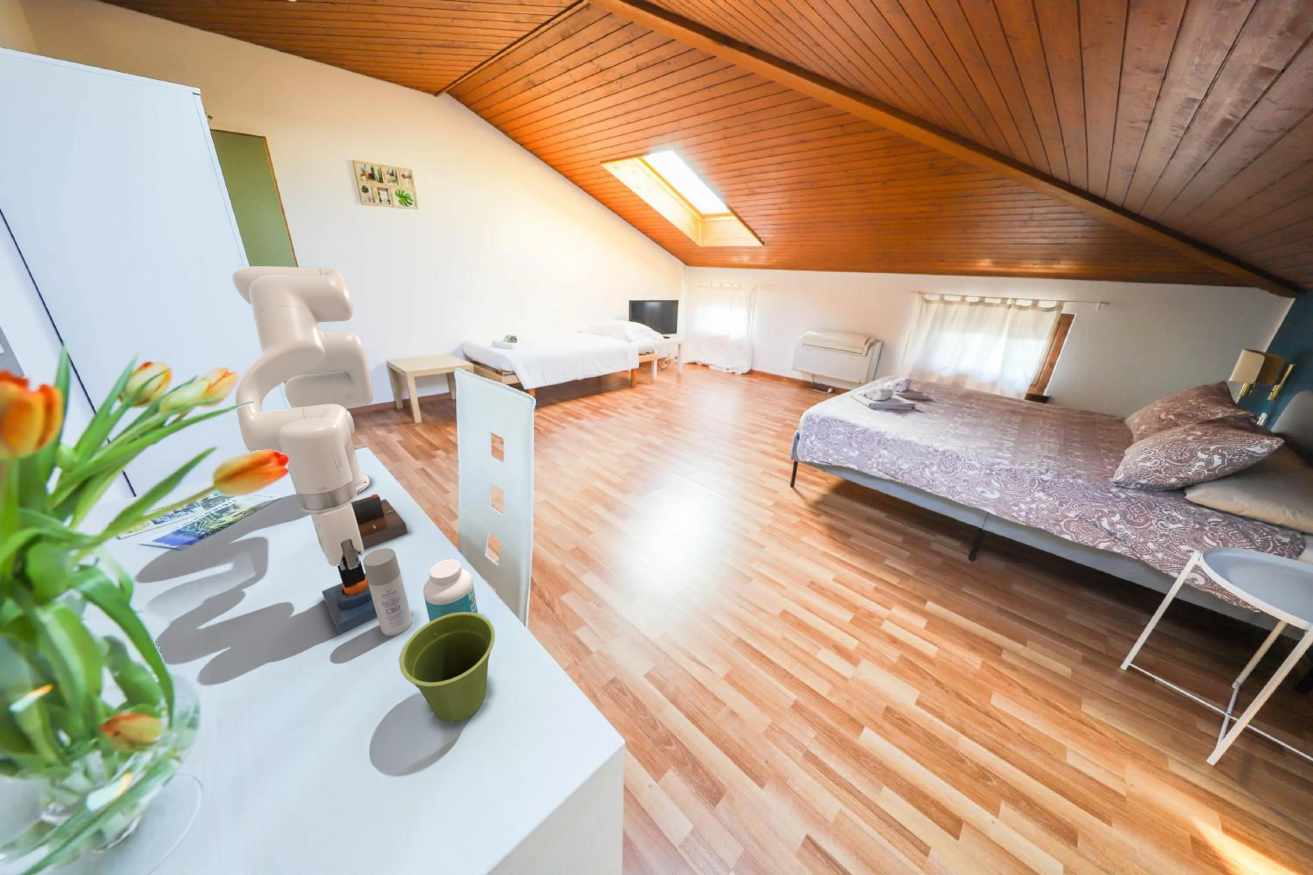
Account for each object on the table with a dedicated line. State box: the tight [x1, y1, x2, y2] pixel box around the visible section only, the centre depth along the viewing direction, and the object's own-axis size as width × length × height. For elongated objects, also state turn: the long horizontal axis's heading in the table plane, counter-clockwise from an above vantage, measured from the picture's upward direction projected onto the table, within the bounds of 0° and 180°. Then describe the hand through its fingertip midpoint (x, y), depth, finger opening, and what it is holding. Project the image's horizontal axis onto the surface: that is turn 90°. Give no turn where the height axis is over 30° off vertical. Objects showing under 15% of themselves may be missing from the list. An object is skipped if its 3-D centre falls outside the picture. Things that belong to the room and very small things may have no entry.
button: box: [342, 576, 368, 596], centre depth 77 cm, size 4×4×2 cm
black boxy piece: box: [351, 493, 384, 524], centre depth 97 cm, size 6×2×5 cm, turn 135°
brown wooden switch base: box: [358, 498, 408, 551], centre depth 99 cm, size 14×11×3 cm
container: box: [362, 547, 413, 638], centre depth 72 cm, size 5×5×15 cm
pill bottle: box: [422, 558, 479, 622], centre depth 72 cm, size 8×7×14 cm
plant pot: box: [399, 612, 496, 723], centre depth 61 cm, size 12×12×11 cm
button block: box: [321, 572, 378, 635], centre depth 78 cm, size 11×9×4 cm
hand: (354, 581), depth 77 cm, fingers closed
